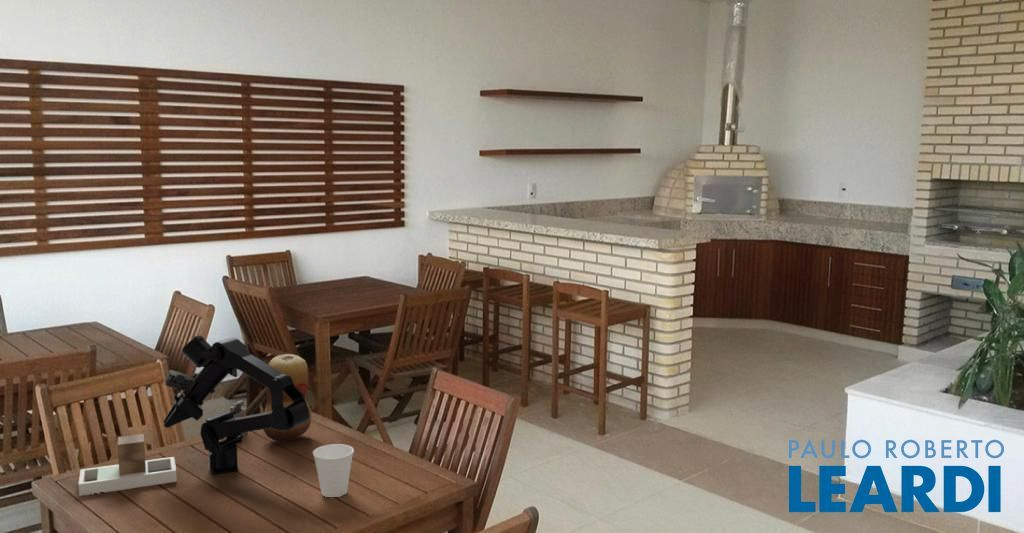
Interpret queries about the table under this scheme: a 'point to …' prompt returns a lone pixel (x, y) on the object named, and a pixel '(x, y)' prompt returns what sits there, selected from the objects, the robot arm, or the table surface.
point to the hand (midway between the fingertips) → (164, 425)
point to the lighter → (238, 410)
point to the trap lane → (126, 477)
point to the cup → (333, 468)
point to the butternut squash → (299, 375)
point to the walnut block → (131, 454)
